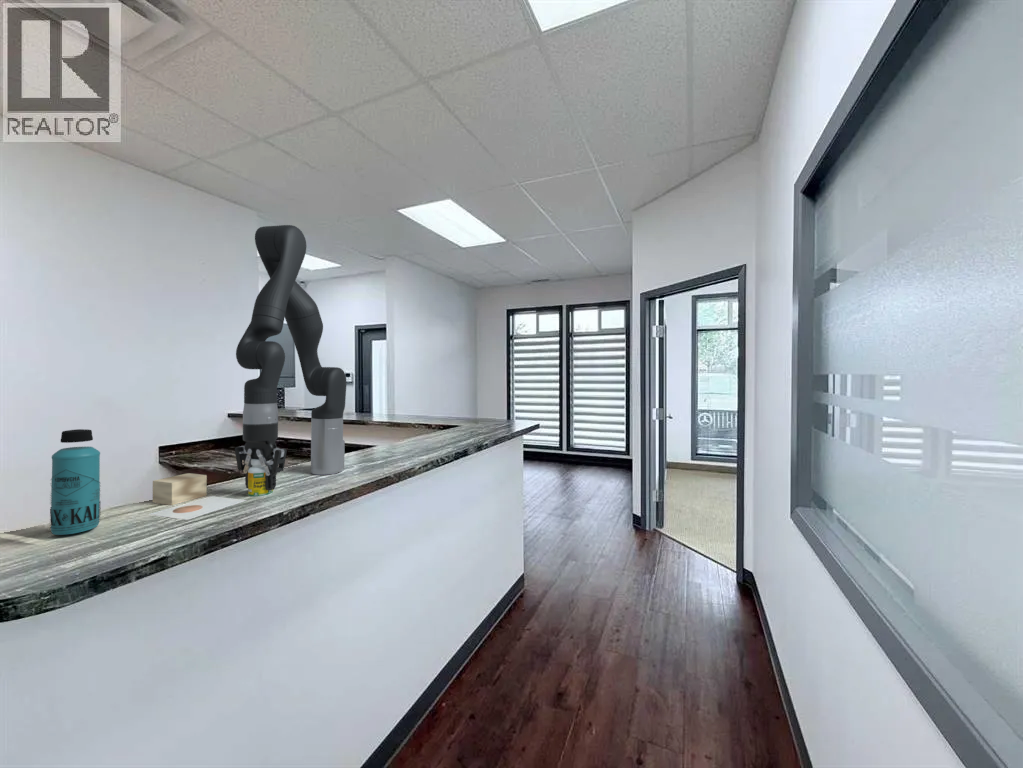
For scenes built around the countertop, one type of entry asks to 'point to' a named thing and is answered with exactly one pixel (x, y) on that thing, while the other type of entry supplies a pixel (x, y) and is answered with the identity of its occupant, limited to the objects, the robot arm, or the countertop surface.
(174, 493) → the block
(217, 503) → the board
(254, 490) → the supplement bottle
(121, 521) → the countertop surface
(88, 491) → the beverage bottle
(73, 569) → the countertop surface
